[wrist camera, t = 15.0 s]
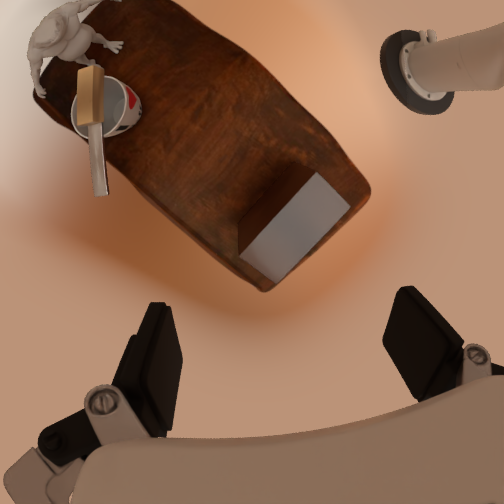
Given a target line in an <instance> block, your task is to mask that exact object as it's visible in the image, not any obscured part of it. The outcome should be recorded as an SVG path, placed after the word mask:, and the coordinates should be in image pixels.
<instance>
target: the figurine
mask: <svg viewBox="0 0 504 504" xmlns="http://www.w3.org/2000/svg"><path fill="white" fill-rule="evenodd" d="M100 1H103V0H79V1H76V2H68V3H66V4H64V5H62V6H60V7H59V8H56V9H55V10H53V11H52V12H50V13H49V14H48V15H47V16H45V17H44V19H43V20H42V21H41V22H40V25H39V26H38V27H37V28H36V29H35V31H34V32H33V33H32V36H31V38H30V41H29V47H28V52H27V58H28V60H29V61H30V67H31V76H32V79H33V82H34V86H35V89H36V92H37V95H38V96H40V97H41V98H45V96H43V95H44V94H46V92H44V90H46V89H45V88H44V89H43V88H42V86H41V85H40V84H39V77H40V70H41V69H40V68H41V66H42V63H43V58H46V57H53V56H56V55H57V56H58V57H59V58H60V59H62V60H65V61H76V62H77V63H81V64H86V65H88V66H92V65H95V66H97V67H100V68H101V66H100V65H98V64H96V63H95V60H94V59H92V60H88V59H87V58H86V56H85V54H84V53H85V52H86V51H87V49H88V48H89V46H90V44H91V42H93V43H101V44H104V45H103V46H104V48H109V49H110V50H111V51H113V52H115V53H116V54H118V53H119V51H118V50H117V48H118V49H122V46H119V45H122V44H123V41H121V42H118V41H111V42H110V41H107V40H106V39H105V38H104V37H103V36H102V35H101V34H96V33H95V31H94V29H93V28H92V27H90V26H89V25H86V24H81V23H80V22H79V19H78V16H77V13H80V12H83V11H84V10H86V9H87V8H88V7H89V6H92V5H94V4H96V3H98V2H100ZM116 1H119V2H121V1H122V0H116ZM102 69H103V68H102Z"/></svg>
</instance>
